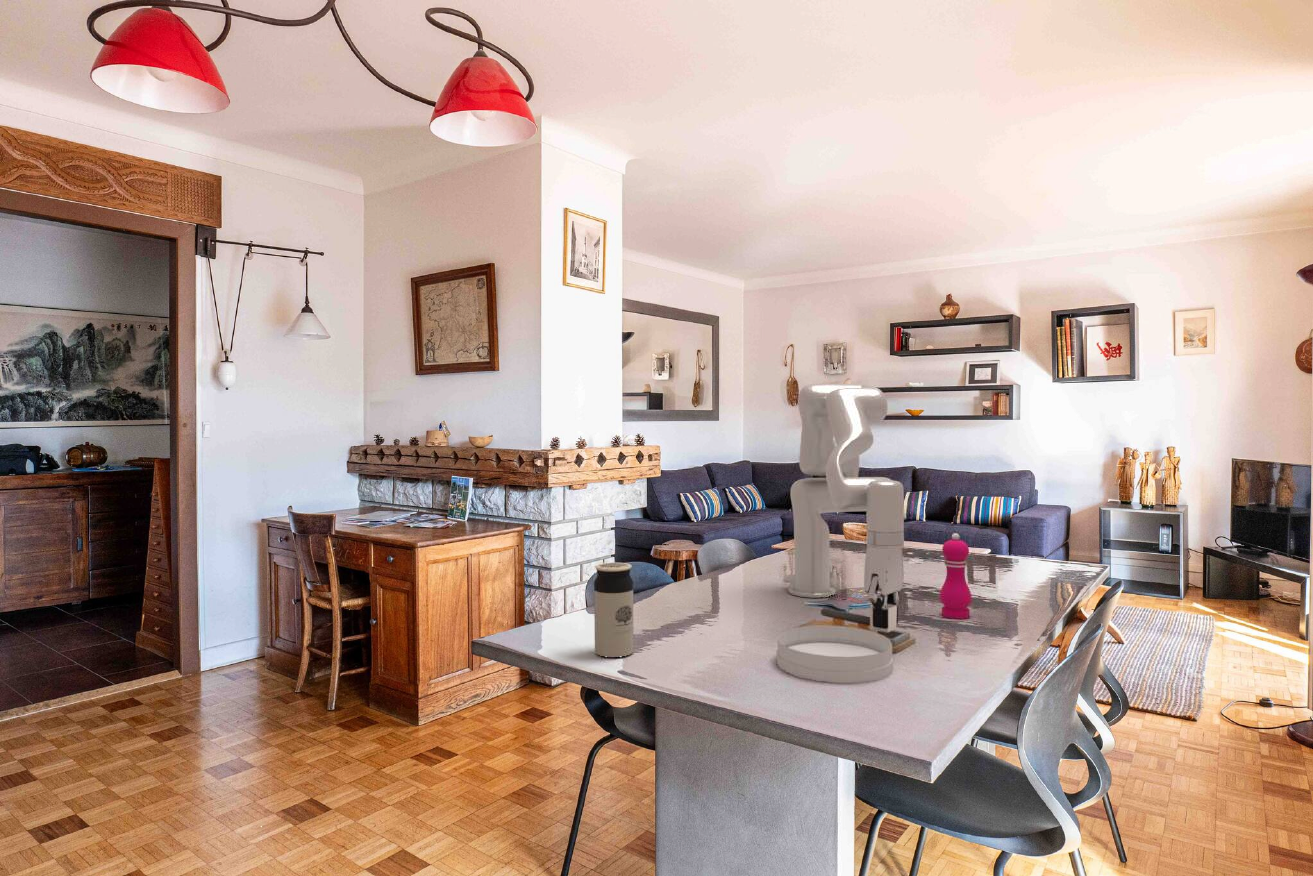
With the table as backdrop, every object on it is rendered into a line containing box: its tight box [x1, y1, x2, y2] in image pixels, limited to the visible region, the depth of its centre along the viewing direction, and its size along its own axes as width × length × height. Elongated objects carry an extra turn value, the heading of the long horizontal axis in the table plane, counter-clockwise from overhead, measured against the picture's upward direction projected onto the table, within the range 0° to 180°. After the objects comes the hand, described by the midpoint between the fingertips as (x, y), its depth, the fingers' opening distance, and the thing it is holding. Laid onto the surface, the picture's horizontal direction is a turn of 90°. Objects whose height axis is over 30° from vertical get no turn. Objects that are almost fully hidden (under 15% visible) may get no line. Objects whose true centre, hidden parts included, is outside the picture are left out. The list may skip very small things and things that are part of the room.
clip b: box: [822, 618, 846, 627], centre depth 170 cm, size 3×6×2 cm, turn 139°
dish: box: [776, 625, 894, 684], centre depth 149 cm, size 22×22×5 cm
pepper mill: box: [939, 533, 973, 620], centre depth 185 cm, size 7×7×20 cm
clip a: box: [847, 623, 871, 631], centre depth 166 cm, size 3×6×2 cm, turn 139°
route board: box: [794, 619, 916, 654], centre depth 167 cm, size 24×10×1 cm, turn 49°
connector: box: [820, 604, 897, 633], centre depth 167 cm, size 17×4×5 cm, turn 47°
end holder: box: [877, 629, 911, 646], centre depth 162 cm, size 7×8×1 cm
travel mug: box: [593, 562, 635, 657], centre depth 157 cm, size 8×8×18 cm
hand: (885, 624), depth 162 cm, fingers closed on connector, 4 cm apart
